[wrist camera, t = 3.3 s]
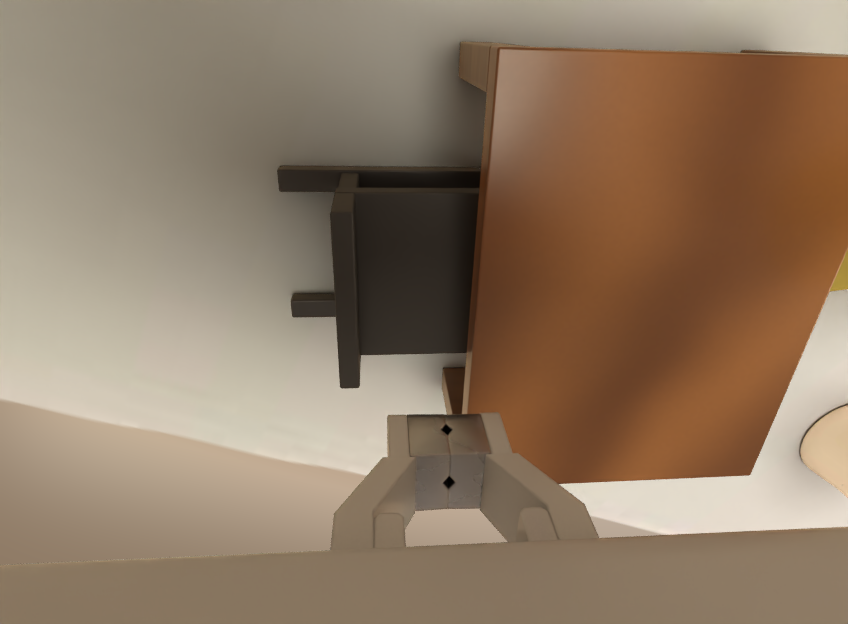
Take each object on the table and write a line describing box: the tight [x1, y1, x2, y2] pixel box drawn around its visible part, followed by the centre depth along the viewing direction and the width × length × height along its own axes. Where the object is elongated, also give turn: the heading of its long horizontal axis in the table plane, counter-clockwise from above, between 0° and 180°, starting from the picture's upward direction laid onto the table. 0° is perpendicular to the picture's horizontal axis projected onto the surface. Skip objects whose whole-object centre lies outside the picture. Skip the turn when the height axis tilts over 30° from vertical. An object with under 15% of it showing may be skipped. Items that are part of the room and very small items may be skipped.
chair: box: [277, 166, 481, 388], centre depth 23 cm, size 10×8×7 cm
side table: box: [442, 42, 848, 484], centre depth 24 cm, size 14×18×8 cm
